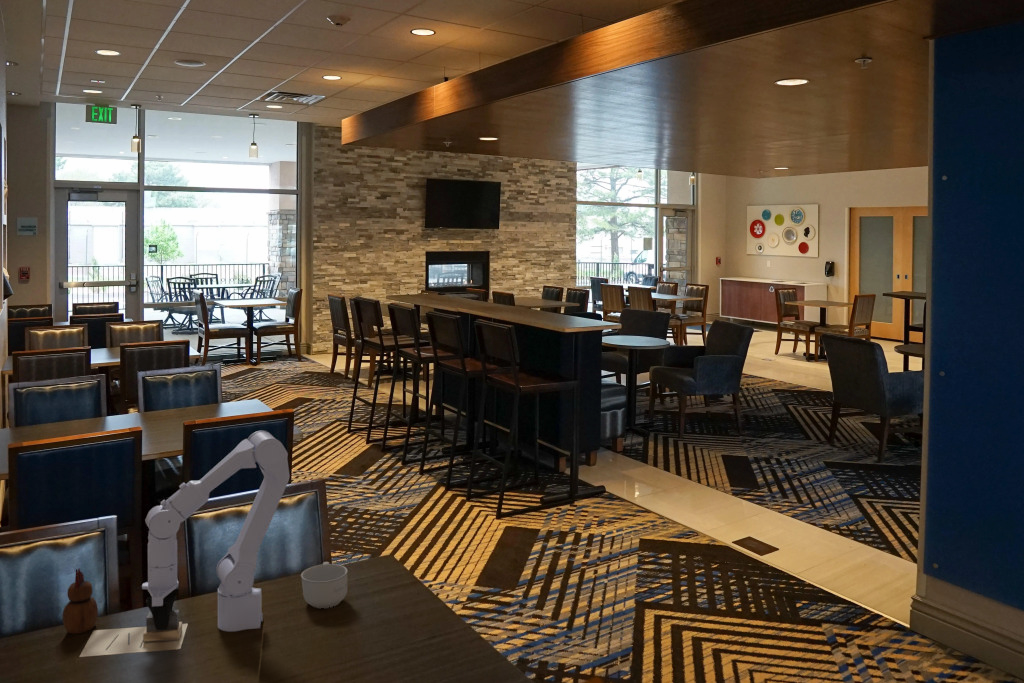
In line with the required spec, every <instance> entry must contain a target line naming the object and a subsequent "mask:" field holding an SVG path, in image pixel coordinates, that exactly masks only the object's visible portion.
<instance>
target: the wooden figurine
mask: <svg viewBox="0 0 1024 683" xmlns="http://www.w3.org/2000/svg"><path fill="white" fill-rule="evenodd" d="M74 580H75V581H74V582H72V583H71V584H70V585H69V587H68V589H67V599H68V602H67V604H66V605H65V606H64V607H63V611H62V623H63V627H64V629H65V631H66V633H69V634H81V633H82V634H83V633H85V632H88V631H90V630H92V629H93V628H94V627H95V626H96V624H97V619H98V615H99V613H98V612H99V609H98V604H97V600H96V599H95V598H94V597H93V596H92V595H93V586H92V583H91V582H90V581H86V580H85V577H84V573H82V571H81V569H80V568H76V569H75V579H74Z"/></svg>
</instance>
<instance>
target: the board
mask: <svg viewBox="0 0 1024 683" xmlns="http://www.w3.org/2000/svg"><path fill="white" fill-rule="evenodd" d="M188 625H189V624H188V623H182V633H181V636H180V639H179V640H173V641H160V642H147V643H143V633H144V631H145V628H146V626H136V627H124V628H123V627H122V628H109V629H94V630H93V631H92V633H91V634H90V637H89V638H88V640H87V642H86V644H85V645H84V648H83V649H82V651H81V653H80V655H79V657H78V658H85V657H87V658H88V657H96V656H97V657H98V656H110V655H111V656H112V655H124V654H125V655H126V654H136V653H148V652H150V653H151V652H161V651H170V650H171V651H173V650H181V648H182V644H183V641H184V638H185V636H186V631H187V630H188V629H187V628H188Z"/></svg>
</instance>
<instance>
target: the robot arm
mask: <svg viewBox="0 0 1024 683" xmlns="http://www.w3.org/2000/svg"><path fill="white" fill-rule="evenodd" d="M288 455H289V453H288V451H287V450H286V448H285V446H284V445H283V443H282V442H281V441H280V440H279V439H276V437H274V436H273V434H272V433H270V432H268V431H267V430H258V431H257V430H256V431H255V432H253V433H251V434H250V435H249V436H248V438H245V439H243V440H241V441H240V442H239V443H238V444H237V445H236V447H235V448H234V449H233V450H231V452H229V453H228V454H227V455H226V456H225V457H224V458H223V459H221V461H218V463H217V464H216V465H215V466H213V468H211V469H210V470H209V471H208V472H207V473H206V474H204V476H203V477H202V478H200V479H199V480H189V481H188V482H187V483H185V482H182V483H180V485H178V487H179V489H178V490H177V491H176V492H174V493H173V494H172V495H171V496H170V497H168V498H167V499H166V500H165V499H163V500H162V501H160V504H159V505H155V506H153V507H152V508H151V509H150V510H149V511H148V513H147V515H146V518H145V519H144V521H145V525H146V526H147V527H148V529H149V530H148V536H147V539H148V543H147V581H146V582H143V583H142V585H141V590H147V592H148V594H150V596H147V597H146V599H145V604H146V606H147V607H148V609H149V612H151V613H152V616H153V619H154V624H155V627H156V630H164V629H167V627H168V623H169V617H170V611H171V610H173V607H174V602H175V601H176V598H177V597H176V595H177V594H178V591H179V589H180V584H179V580H178V540H177V533H178V531H179V529H180V526H181V523H183V522H184V521H186V520H187V519H188V518H189V517H191V516H192V515H193V514H194V513H196V511H198V510H199V509H200V508H201V507H203V506H204V505H205V504H206V503H207V502H209V498H210V493H211V492H212V491H213V490H214V489H215V488H217V487H218V486H219V485H221V484H222V483H224V482H225V481H226V480H228V479H229V478H231V476H234V474H236V473H238V471H240V470H241V469H256V468H257V464H258V467H259V469H260V470H261V473H262V474H263V480H262V482H261V484H260V486H259V488H258V491H257V493H256V496H255V498H254V500H253V502H252V504H251V507H250V509H249V511H248V513H247V516H246V517H245V520H244V523H243V525H242V527H241V530H240V531H239V534H238V537H237V539H236V541H235V543H234V544H232V545H231V546H230V547H229V548H228V550H227V553H226V554H225V555H224V556H223V557H222V558H221V559H220V560H219V561H218V562H217V565H216V570H215V571H216V572H215V573H216V576H217V577H218V578H219V580H220V584H219V586H218V588H217V628H218V629H219V630H220V631H224V632H239V631H245V630H253V629H256V630H257V629H261V624H262V622H263V617H264V616H263V612H262V596H263V595H262V588H260V587H259V588H258V587H257V588H256V587H253V586H254V582H255V575H254V574H255V570H256V567H257V562H258V552H259V551H260V550H259V549H260V547H261V545H262V544H263V543H262V542H263V541H264V538H265V536H266V533H267V531H268V529H269V527H270V524H271V522H272V521H273V520H272V519H273V517H274V515H275V513H276V511H277V508H278V506H279V504H280V501H281V499H282V497H283V495H284V493H285V491H286V487H287V485H288V484H289V481H290V478H291V477H290V476H291V475H290V468H289V462H288V461H289V460H288ZM256 463H257V464H256Z"/></svg>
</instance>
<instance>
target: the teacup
mask: <svg viewBox="0 0 1024 683" xmlns="http://www.w3.org/2000/svg"><path fill="white" fill-rule="evenodd" d="M348 573H349V572H348V568H347V567H345V566H344V565H343V564H342V565H341V564H336V563H330V562H329V561H324V562H322V564H318V565H314V566H311V567H309V568H306V569H304V570H303V571H302V572H301V573H300V578H301V584H302V585H301V586H302V596H303V599H304V601H305V602H306V603H307V604H308V605H310V606H312V607H313V608H315V607H316V609H321V608H324V609H330V608H333V606H334V607H336V606H337V605H339V604H340V603H341V602H342V601H343V600H344V599H345V598H346V596H347V594H348ZM329 607H330V608H329Z"/></svg>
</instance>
